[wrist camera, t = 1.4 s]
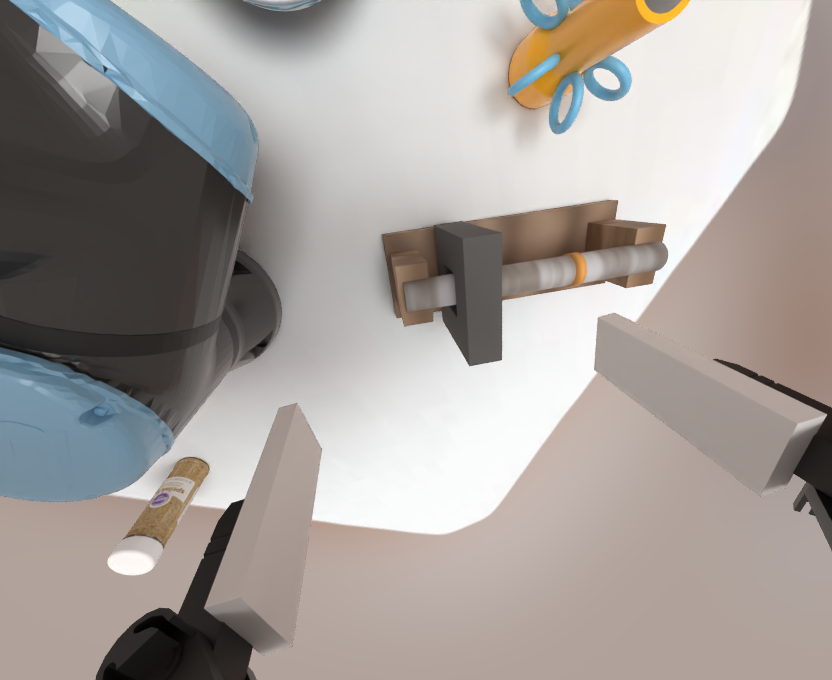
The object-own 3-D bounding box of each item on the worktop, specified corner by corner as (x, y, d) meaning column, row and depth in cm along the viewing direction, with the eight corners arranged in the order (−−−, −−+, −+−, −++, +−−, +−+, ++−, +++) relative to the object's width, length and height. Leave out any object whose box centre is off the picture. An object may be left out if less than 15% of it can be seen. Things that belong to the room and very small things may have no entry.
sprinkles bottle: (199, 453, 44) (136, 548, 32) (216, 473, 46) (162, 570, 34) (169, 461, 44) (94, 560, 32) (187, 481, 46) (123, 581, 34)
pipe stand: (395, 314, 39) (403, 352, 30) (382, 234, 35) (386, 248, 25) (597, 279, 41) (665, 305, 32) (609, 200, 37) (692, 201, 27)
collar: (442, 320, 37) (469, 366, 27) (434, 225, 32) (462, 238, 22) (466, 316, 37) (501, 360, 27) (461, 221, 32) (502, 232, 22)
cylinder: (570, 146, 34) (704, 113, 20) (480, 143, 32) (559, 106, 19) (600, -8, 28) (808, -190, 15) (494, -19, 27) (618, -230, 14)
